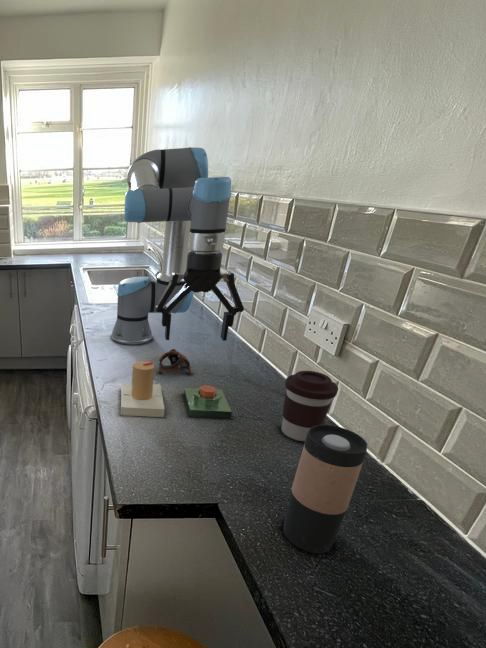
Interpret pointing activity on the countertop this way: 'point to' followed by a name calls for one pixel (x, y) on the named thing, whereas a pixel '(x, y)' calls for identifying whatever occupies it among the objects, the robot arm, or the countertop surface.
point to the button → (207, 391)
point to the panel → (142, 402)
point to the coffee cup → (306, 402)
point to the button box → (206, 404)
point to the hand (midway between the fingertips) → (194, 338)
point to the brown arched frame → (174, 362)
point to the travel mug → (323, 486)
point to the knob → (142, 380)
